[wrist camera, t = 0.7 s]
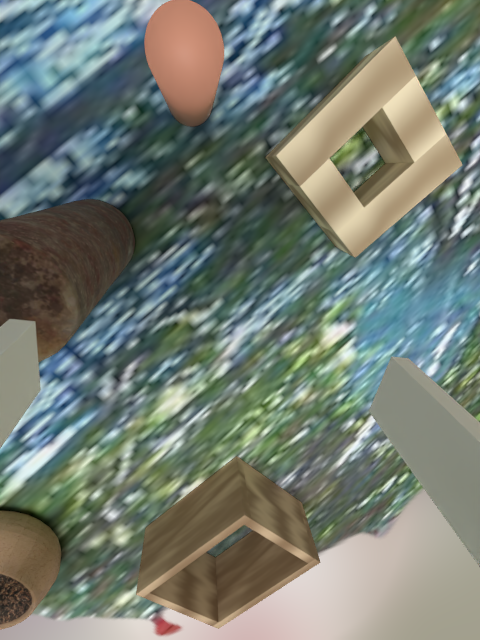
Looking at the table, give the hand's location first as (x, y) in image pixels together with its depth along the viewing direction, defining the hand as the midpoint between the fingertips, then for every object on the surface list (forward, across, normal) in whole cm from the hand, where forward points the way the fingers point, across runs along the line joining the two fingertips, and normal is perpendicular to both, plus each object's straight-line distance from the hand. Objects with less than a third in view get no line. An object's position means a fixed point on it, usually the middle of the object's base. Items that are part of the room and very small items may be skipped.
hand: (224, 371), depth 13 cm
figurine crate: (+24, +9, -42) cm, 49 cm away
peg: (+25, -3, +12) cm, 28 cm away
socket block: (+25, +13, +10) cm, 30 cm away
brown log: (+25, -10, -1) cm, 27 cm away
